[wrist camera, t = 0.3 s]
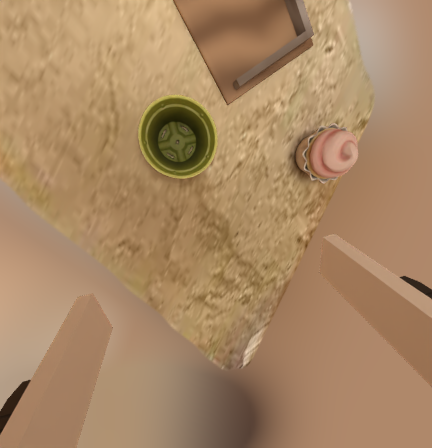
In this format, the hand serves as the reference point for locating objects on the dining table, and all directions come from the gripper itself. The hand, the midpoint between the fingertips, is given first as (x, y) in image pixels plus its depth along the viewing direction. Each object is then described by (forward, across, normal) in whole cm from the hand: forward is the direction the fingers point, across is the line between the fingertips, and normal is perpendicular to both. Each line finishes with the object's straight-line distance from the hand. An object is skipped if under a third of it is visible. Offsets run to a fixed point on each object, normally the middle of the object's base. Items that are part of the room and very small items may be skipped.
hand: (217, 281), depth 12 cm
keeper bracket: (+29, +13, +20) cm, 37 cm away
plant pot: (+27, -1, +6) cm, 27 cm away
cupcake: (+27, +23, 0) cm, 35 cm away
